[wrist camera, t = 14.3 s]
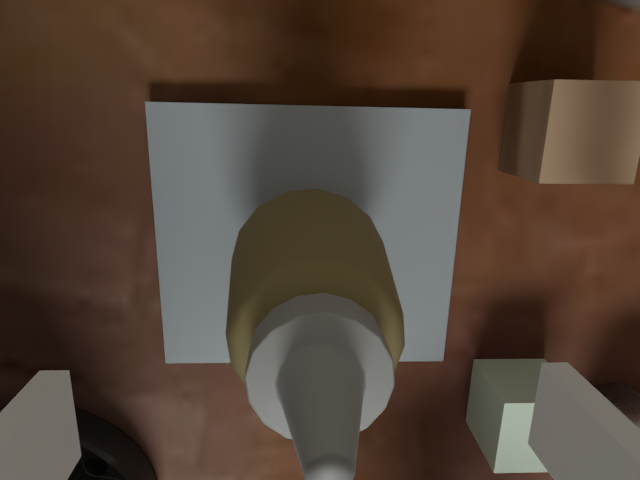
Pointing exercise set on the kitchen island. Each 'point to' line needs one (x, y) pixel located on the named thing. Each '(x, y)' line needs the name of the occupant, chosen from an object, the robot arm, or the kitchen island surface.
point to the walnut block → (572, 131)
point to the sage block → (504, 412)
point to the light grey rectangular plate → (294, 175)
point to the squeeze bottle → (314, 325)
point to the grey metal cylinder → (623, 400)
